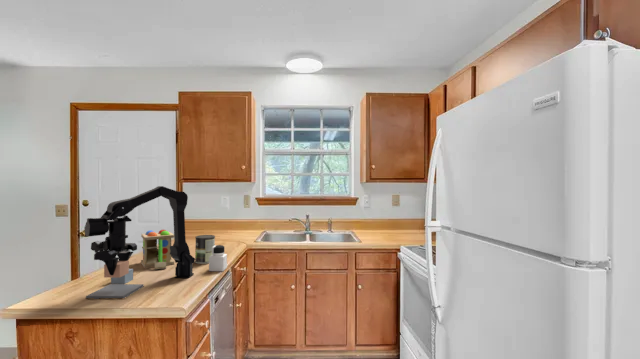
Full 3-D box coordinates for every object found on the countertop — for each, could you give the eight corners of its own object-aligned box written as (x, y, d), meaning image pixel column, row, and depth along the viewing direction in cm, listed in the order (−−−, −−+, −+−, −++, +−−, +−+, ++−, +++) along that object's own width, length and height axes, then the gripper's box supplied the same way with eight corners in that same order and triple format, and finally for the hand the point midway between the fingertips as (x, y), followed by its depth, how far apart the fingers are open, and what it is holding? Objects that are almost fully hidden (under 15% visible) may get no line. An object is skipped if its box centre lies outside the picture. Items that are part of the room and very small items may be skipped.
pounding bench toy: (178, 268, 164) (178, 233, 164) (146, 272, 156) (147, 235, 156) (169, 259, 183) (169, 227, 183) (140, 262, 174) (141, 229, 174)
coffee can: (194, 264, 170) (195, 238, 170) (195, 260, 180) (195, 235, 180) (215, 263, 174) (215, 237, 174) (214, 258, 184) (214, 234, 184)
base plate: (143, 286, 134) (143, 284, 134) (123, 298, 120) (123, 296, 120) (109, 286, 134) (109, 284, 134) (85, 298, 120) (85, 296, 120)
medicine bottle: (227, 267, 165) (227, 244, 165) (223, 271, 158) (223, 247, 158) (213, 267, 165) (213, 244, 165) (208, 271, 157) (208, 247, 158)
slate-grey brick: (133, 279, 144) (133, 268, 144) (124, 284, 138) (124, 272, 138) (119, 279, 144) (119, 268, 144) (110, 284, 138) (111, 272, 138)
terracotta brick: (128, 273, 130) (128, 260, 130) (119, 277, 124) (119, 264, 124) (113, 273, 130) (113, 260, 130) (104, 277, 124) (104, 264, 124)
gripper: (111, 229, 136) (111, 266, 136) (79, 237, 118) (79, 279, 117) (138, 230, 136) (137, 266, 136) (110, 237, 118) (109, 279, 118)
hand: (116, 272), depth 127 cm, fingers closed on terracotta brick, 6 cm apart
